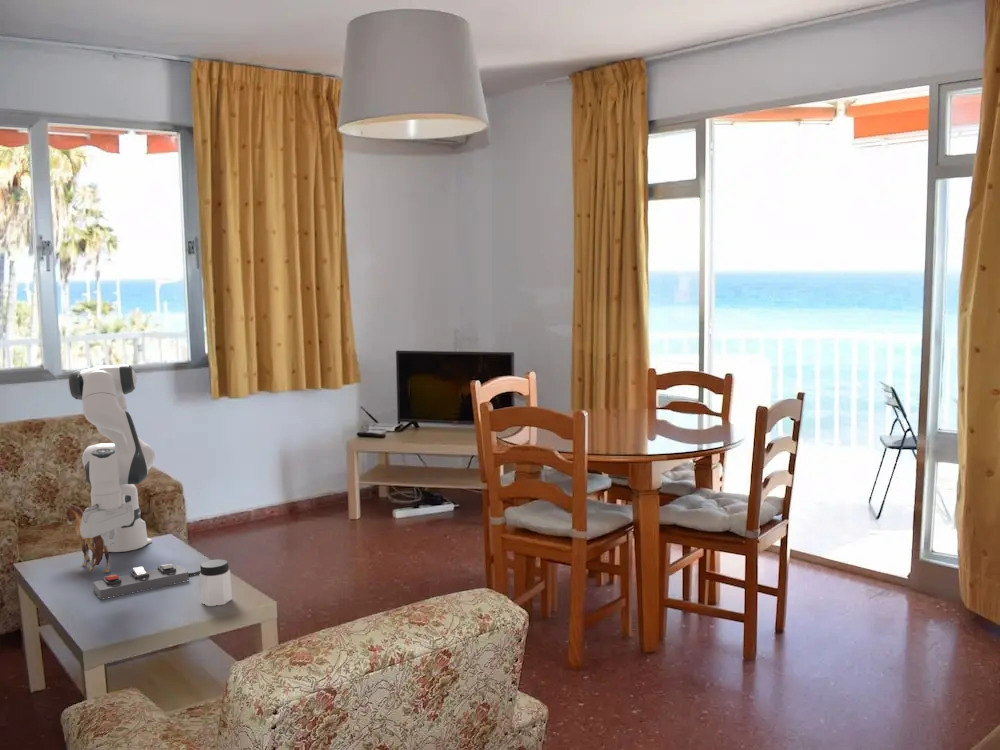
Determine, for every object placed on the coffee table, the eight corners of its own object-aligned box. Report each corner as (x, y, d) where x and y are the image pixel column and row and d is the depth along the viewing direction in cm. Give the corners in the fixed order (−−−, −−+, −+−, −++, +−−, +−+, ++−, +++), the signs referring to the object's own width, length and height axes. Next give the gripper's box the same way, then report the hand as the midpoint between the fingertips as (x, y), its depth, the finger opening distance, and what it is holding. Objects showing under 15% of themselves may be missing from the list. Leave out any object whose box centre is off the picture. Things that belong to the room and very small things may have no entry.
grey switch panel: (93, 591, 294) (92, 579, 293) (199, 569, 313) (198, 558, 312) (100, 599, 286) (99, 587, 285) (208, 576, 305) (208, 565, 304)
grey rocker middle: (133, 572, 300) (133, 567, 299) (142, 570, 301) (142, 565, 301) (137, 579, 296) (137, 574, 295) (146, 577, 297) (146, 572, 297)
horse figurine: (68, 561, 327) (63, 504, 324) (91, 556, 332) (86, 500, 329) (94, 582, 303) (89, 520, 300) (118, 576, 308) (113, 516, 305)
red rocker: (105, 581, 295) (105, 576, 295) (115, 579, 296) (114, 574, 296) (109, 581, 291) (108, 576, 291) (118, 580, 292) (117, 574, 292)
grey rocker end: (160, 570, 304) (160, 565, 304) (169, 568, 306) (168, 563, 306) (164, 570, 300) (163, 565, 300) (173, 568, 302) (172, 564, 302)
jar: (236, 601, 281) (234, 562, 280) (212, 608, 275) (209, 569, 274) (221, 594, 287) (218, 557, 286) (197, 601, 281) (194, 563, 280)
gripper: (91, 509, 278) (94, 554, 279) (136, 494, 298) (139, 536, 299) (74, 508, 280) (77, 553, 281) (120, 493, 300) (122, 535, 301)
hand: (109, 544), depth 290 cm, fingers closed
